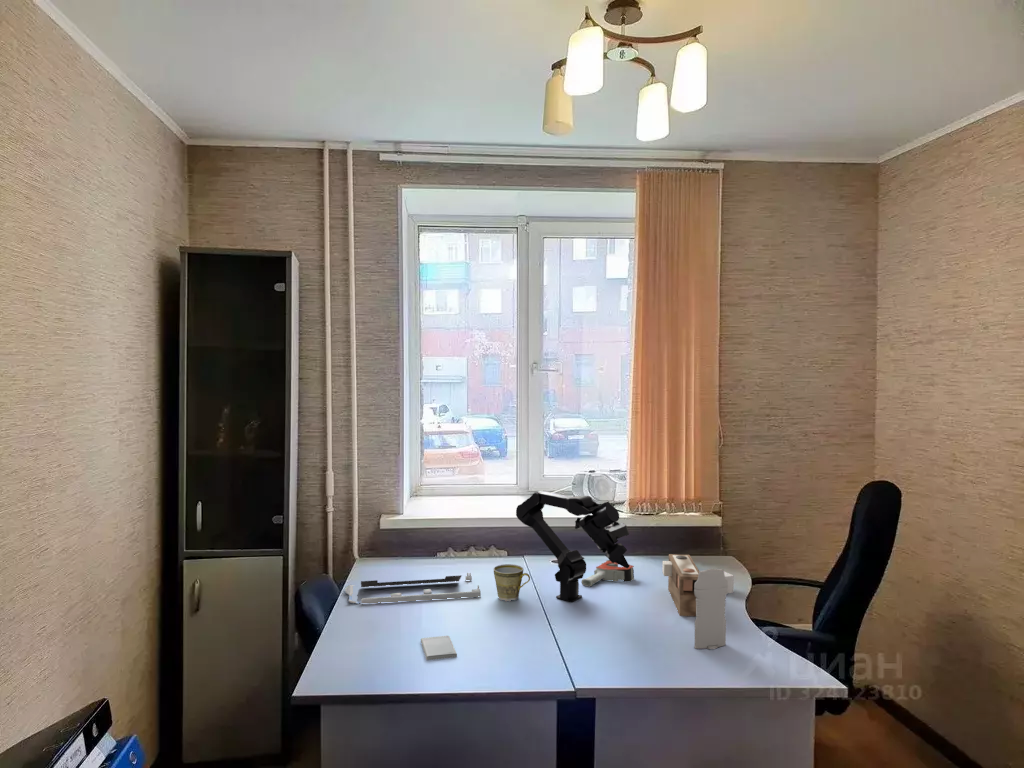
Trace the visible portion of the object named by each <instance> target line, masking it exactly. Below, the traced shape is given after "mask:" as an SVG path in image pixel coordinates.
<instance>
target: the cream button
mask: <svg viewBox="0 0 1024 768" xmlns="http://www.w3.org/2000/svg"><path fill="white" fill-rule="evenodd" d="M662 574H663V577H668V576H672V562H671V561H669V560H662Z"/></svg>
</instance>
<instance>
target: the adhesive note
mask: <svg viewBox="0 0 1024 768" xmlns="http://www.w3.org/2000/svg"><path fill="white" fill-rule="evenodd" d="M724 575H725V579H727V580H728V592H727V594H733V593H734V583H735V582H734V579H735V578H734V577H735V576H734V575H733V574H732V573H729V572H726V571H724Z"/></svg>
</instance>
